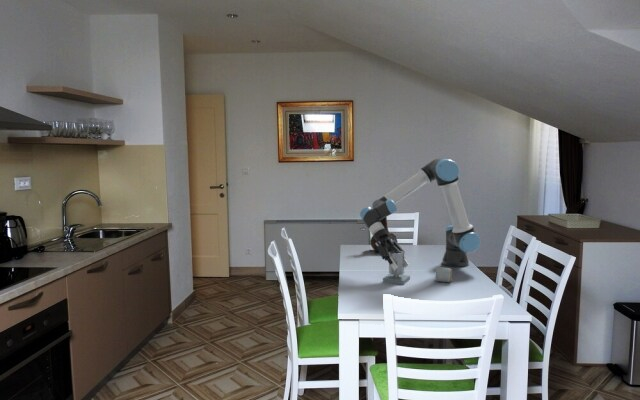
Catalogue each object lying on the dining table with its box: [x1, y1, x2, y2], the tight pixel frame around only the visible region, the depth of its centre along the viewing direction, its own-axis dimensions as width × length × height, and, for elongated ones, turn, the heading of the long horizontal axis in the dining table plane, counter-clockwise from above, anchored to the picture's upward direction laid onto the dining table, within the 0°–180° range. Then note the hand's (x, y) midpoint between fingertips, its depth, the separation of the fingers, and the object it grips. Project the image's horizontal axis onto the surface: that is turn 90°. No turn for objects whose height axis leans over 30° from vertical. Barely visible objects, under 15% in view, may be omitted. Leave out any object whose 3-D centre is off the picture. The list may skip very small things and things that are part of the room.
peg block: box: [382, 273, 411, 286], centre depth 235 cm, size 11×11×8 cm
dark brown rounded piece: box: [369, 216, 398, 253], centre depth 304 cm, size 18×18×28 cm
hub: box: [388, 251, 405, 275], centre depth 235 cm, size 7×7×11 cm
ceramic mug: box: [434, 265, 453, 283], centre depth 235 cm, size 11×8×8 cm
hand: (401, 267), depth 232 cm, fingers closed on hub, 8 cm apart
